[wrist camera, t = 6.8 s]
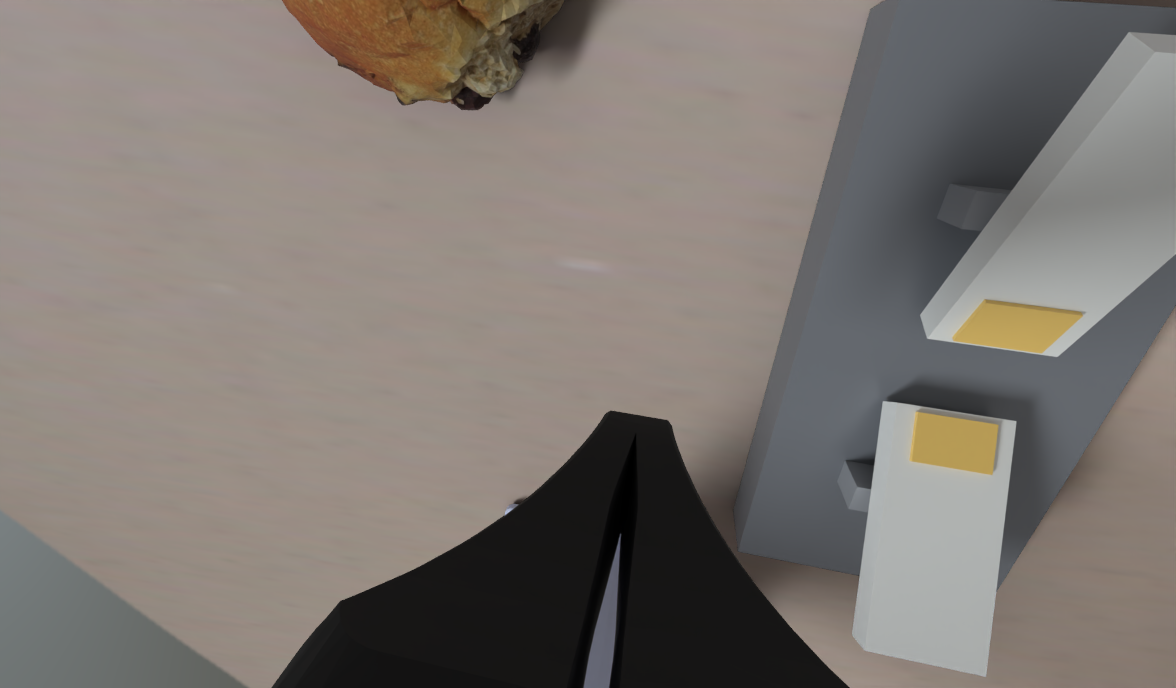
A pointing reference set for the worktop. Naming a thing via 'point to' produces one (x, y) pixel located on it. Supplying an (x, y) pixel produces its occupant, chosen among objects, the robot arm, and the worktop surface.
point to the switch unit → (934, 271)
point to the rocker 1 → (934, 536)
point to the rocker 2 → (1076, 216)
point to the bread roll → (430, 43)
